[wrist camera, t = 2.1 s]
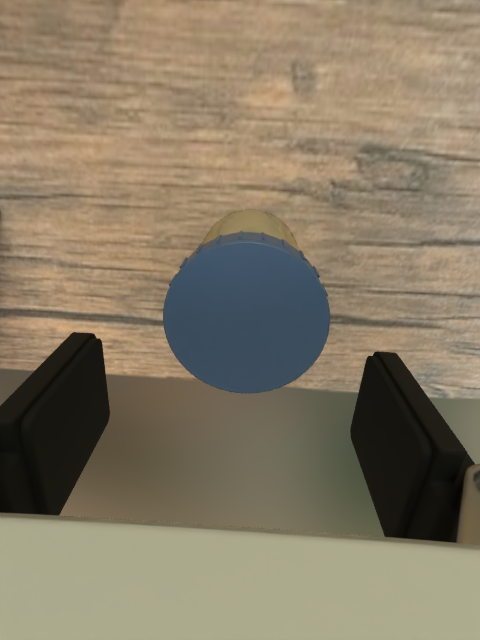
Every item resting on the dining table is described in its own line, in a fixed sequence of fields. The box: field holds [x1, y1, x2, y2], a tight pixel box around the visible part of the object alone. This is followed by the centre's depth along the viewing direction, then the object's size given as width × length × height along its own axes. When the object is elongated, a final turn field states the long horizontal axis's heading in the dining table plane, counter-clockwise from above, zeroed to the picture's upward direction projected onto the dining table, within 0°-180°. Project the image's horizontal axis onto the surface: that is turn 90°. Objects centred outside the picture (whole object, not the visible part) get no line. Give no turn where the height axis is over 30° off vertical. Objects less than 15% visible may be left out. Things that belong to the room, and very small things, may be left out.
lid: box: [163, 230, 330, 393], centre depth 16 cm, size 7×7×2 cm
